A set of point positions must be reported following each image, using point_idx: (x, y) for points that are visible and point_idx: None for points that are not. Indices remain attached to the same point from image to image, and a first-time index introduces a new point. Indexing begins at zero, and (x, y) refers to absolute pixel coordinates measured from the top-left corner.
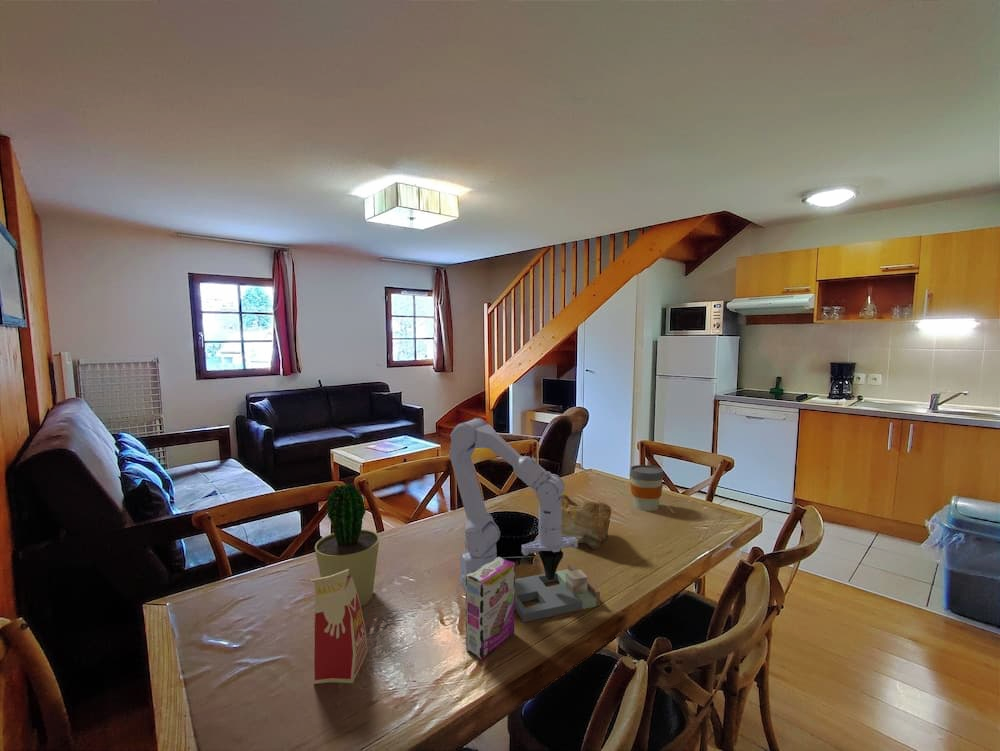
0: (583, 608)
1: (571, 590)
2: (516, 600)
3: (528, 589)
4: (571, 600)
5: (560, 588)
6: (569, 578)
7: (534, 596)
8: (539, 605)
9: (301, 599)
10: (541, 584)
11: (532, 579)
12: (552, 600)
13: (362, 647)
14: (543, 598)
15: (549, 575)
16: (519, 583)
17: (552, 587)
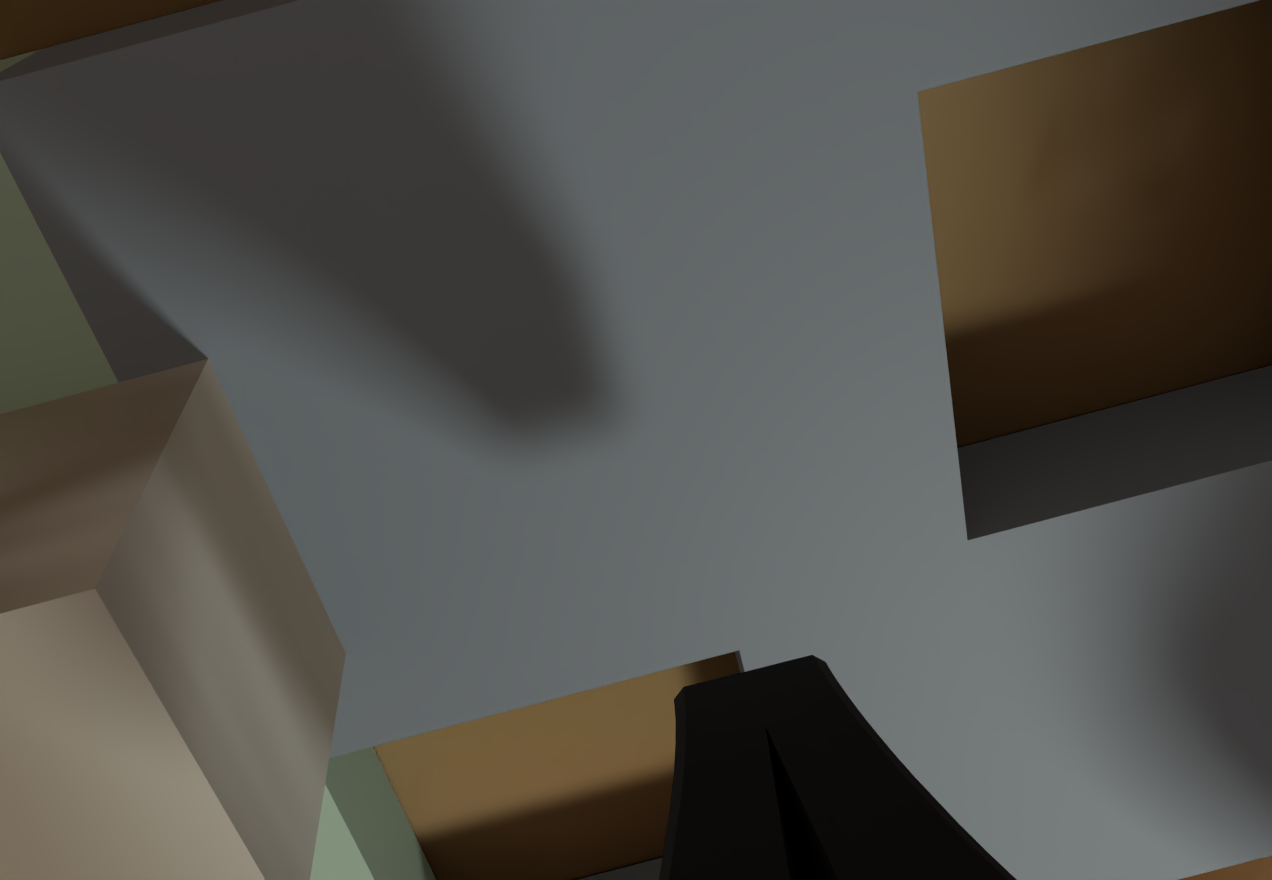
0: (10, 58)
1: (224, 466)
2: None
3: (1114, 593)
4: (269, 152)
5: (465, 611)
6: (217, 717)
7: (987, 473)
8: (1106, 3)
9: None
10: None
11: None
12: (742, 188)
13: None
14: (922, 281)
15: (860, 735)
16: (1198, 761)
17: (625, 648)
